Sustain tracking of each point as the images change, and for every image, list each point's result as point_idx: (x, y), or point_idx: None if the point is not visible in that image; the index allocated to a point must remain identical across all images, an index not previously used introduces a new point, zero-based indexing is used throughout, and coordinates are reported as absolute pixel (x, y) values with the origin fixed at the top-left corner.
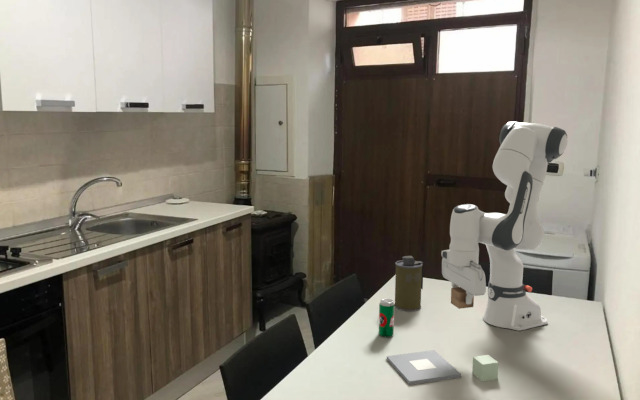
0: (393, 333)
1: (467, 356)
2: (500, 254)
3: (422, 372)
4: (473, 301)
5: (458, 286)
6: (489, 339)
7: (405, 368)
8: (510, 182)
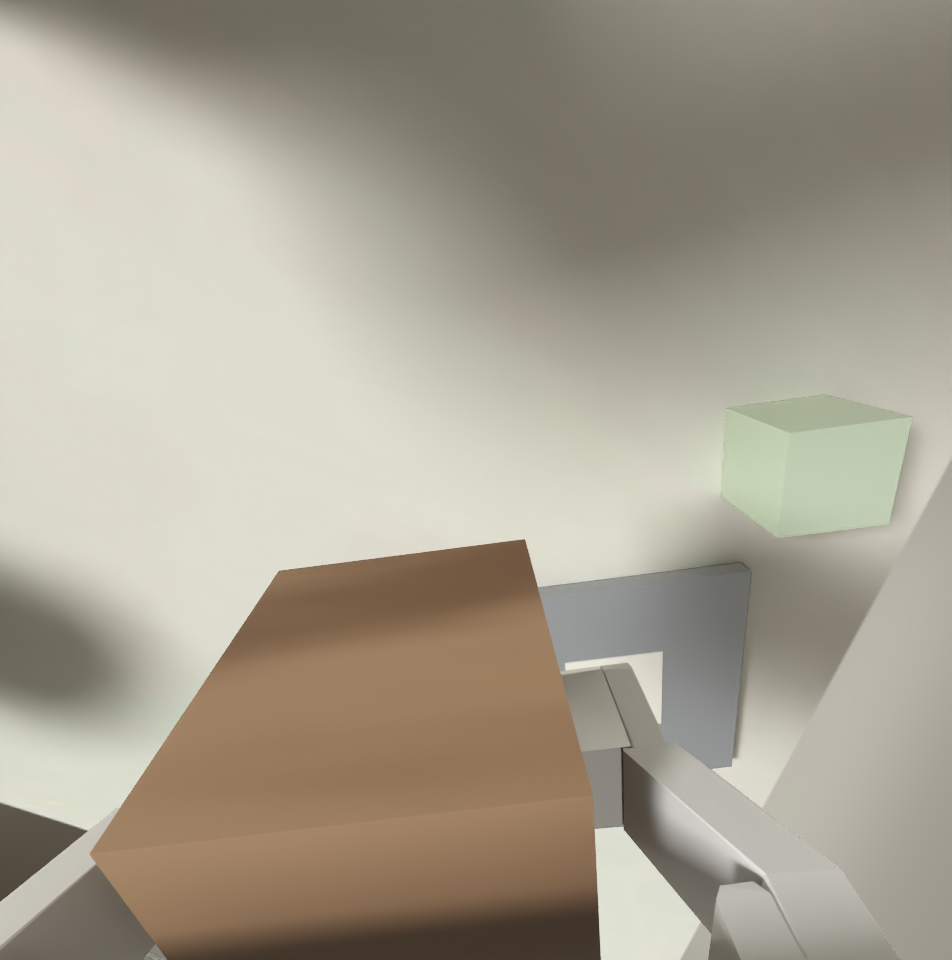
0: None
1: (541, 444)
2: None
3: (680, 711)
4: (539, 596)
5: (48, 917)
6: (298, 160)
7: None
8: None
